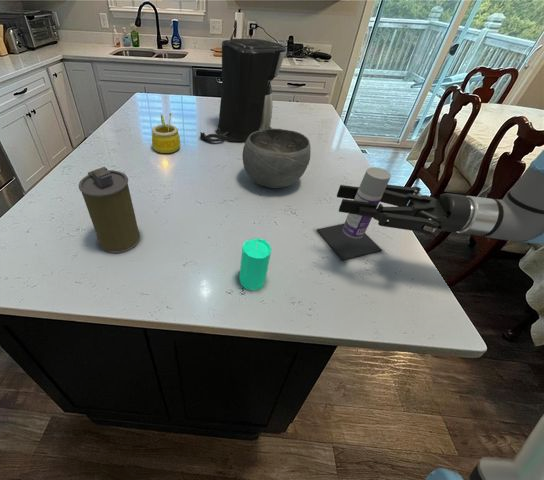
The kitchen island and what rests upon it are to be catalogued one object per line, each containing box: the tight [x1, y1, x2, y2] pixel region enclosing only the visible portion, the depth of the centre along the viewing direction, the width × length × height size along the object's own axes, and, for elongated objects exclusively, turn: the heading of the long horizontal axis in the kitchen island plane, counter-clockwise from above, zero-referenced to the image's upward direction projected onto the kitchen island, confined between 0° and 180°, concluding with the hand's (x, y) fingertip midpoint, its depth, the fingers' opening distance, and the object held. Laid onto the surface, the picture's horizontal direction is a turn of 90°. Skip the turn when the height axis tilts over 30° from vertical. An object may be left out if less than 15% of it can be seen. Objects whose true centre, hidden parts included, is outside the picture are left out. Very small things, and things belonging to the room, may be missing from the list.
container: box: [342, 166, 392, 239], centre depth 61 cm, size 5×5×15 cm
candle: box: [238, 237, 272, 291], centre depth 64 cm, size 6×6×12 cm
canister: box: [78, 166, 141, 254], centre depth 70 cm, size 11×10×20 cm
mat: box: [316, 222, 383, 262], centre depth 79 cm, size 12×12×1 cm
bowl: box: [241, 128, 312, 189], centre depth 95 cm, size 21×21×15 cm
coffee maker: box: [199, 38, 287, 143], centre depth 116 cm, size 23×32×34 cm
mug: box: [151, 112, 181, 154], centre depth 112 cm, size 13×11×12 cm
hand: (339, 198), depth 62 cm, fingers closed on container, 5 cm apart
